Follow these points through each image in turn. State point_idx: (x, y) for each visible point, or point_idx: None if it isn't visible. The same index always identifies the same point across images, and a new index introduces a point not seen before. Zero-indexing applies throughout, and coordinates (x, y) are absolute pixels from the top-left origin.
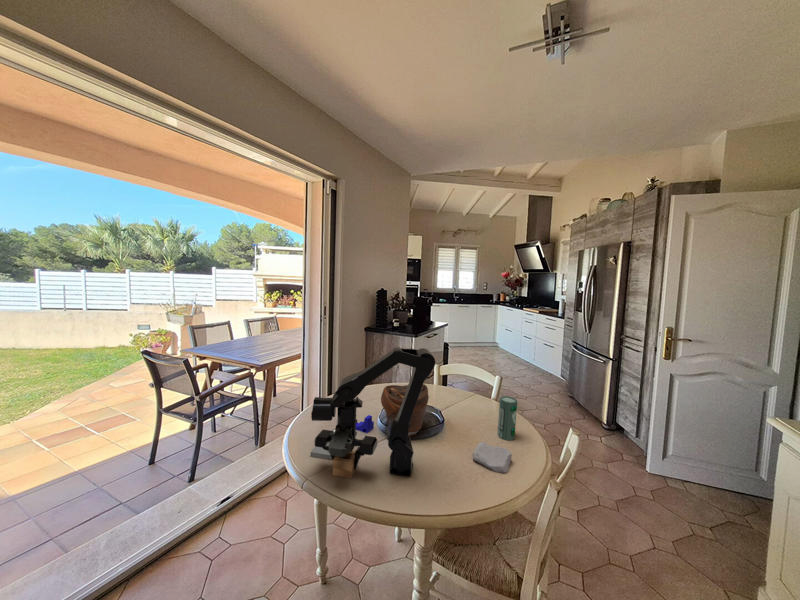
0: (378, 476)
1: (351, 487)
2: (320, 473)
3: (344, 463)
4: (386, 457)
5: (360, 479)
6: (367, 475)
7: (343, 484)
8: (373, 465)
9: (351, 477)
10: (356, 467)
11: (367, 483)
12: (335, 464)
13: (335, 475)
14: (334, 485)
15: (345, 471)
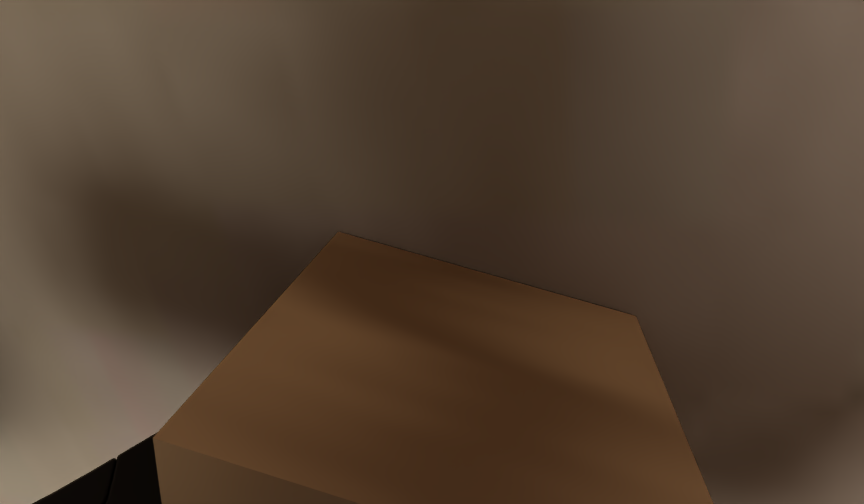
0: (21, 252)
1: (283, 16)
2: (845, 369)
3: (390, 454)
4: None
5: (208, 207)
6: (151, 277)
7: (434, 97)
8: (153, 419)
9: (333, 243)
10: None
11: (85, 120)
12: (637, 468)
13: (588, 304)
14: (598, 67)
15: (407, 311)
